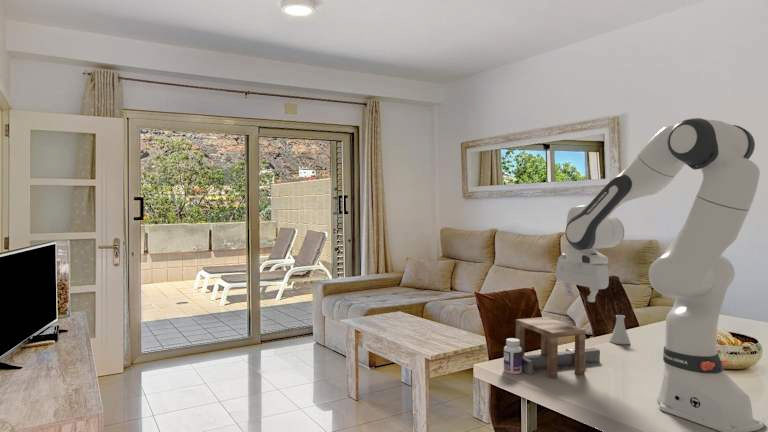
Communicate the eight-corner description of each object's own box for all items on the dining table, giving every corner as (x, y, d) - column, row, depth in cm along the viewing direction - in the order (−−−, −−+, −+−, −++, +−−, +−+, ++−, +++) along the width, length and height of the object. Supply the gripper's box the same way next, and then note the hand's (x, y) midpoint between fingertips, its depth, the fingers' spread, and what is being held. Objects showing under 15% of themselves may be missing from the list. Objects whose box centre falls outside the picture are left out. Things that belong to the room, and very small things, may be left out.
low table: (584, 374, 149) (585, 329, 149) (551, 378, 145) (552, 332, 145) (545, 357, 166) (546, 316, 166) (515, 360, 162) (515, 319, 162)
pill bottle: (522, 369, 153) (522, 338, 153) (521, 375, 148) (521, 342, 148) (504, 367, 155) (504, 336, 155) (502, 373, 150) (503, 341, 150)
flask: (626, 340, 188) (626, 314, 188) (634, 345, 181) (634, 318, 181) (606, 339, 189) (606, 313, 189) (613, 344, 182) (613, 317, 182)
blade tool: (606, 364, 159) (606, 352, 159) (528, 375, 149) (528, 361, 149) (587, 357, 166) (588, 345, 166) (512, 366, 156) (513, 354, 156)
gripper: (551, 253, 168) (551, 294, 168) (596, 259, 149) (595, 305, 149) (566, 253, 170) (566, 293, 170) (612, 258, 151) (612, 304, 151)
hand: (580, 299), depth 160 cm, fingers open, 8 cm apart
